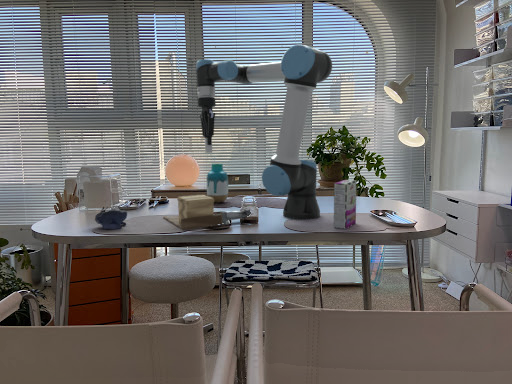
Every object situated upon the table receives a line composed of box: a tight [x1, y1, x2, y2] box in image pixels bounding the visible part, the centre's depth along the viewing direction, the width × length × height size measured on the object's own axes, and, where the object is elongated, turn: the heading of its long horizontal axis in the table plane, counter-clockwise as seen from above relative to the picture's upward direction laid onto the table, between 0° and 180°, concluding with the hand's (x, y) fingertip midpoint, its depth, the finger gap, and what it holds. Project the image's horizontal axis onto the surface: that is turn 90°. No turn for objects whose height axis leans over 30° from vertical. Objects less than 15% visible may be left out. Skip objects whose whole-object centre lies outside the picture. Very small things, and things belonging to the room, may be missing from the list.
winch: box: [219, 208, 252, 224], centre depth 153 cm, size 15×6×5 cm, turn 119°
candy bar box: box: [333, 179, 357, 230], centre depth 146 cm, size 11×5×16 cm, turn 148°
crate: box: [177, 194, 215, 224], centre depth 148 cm, size 10×10×10 cm
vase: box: [206, 163, 229, 204], centre depth 197 cm, size 11×11×19 cm
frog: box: [94, 206, 128, 230], centre depth 147 cm, size 10×12×8 cm
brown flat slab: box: [163, 213, 223, 231], centre depth 153 cm, size 23×15×4 cm, turn 29°
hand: (208, 152), depth 174 cm, fingers closed
